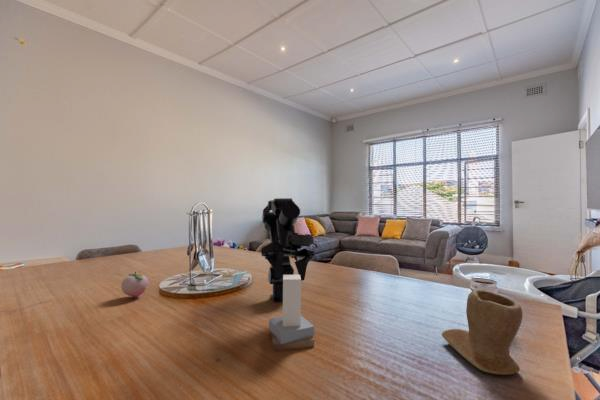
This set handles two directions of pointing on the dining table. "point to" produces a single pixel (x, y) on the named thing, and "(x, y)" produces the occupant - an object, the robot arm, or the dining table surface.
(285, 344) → the tower base slab
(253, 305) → the dining table surface
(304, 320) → the tower top slab
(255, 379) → the dining table surface
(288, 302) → the pillar
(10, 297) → the dining table surface
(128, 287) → the decorative fruit
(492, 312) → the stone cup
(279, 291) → the robot arm
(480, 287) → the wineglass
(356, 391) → the dining table surface
